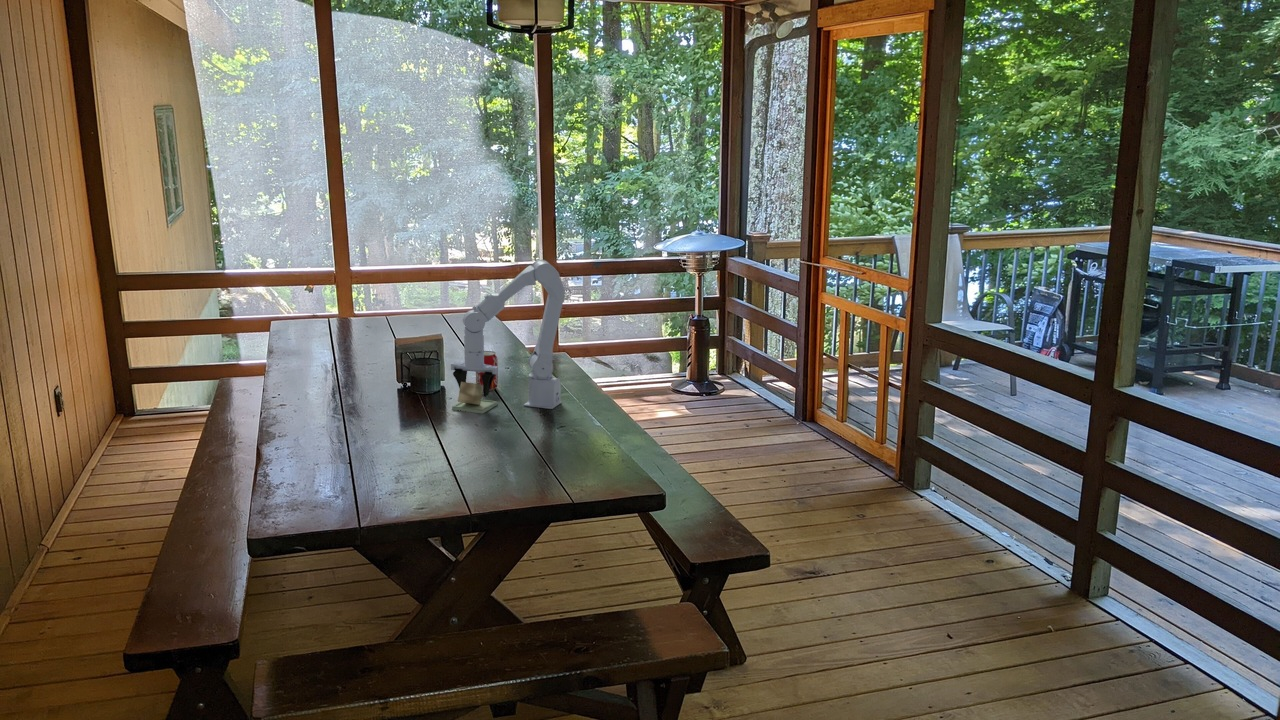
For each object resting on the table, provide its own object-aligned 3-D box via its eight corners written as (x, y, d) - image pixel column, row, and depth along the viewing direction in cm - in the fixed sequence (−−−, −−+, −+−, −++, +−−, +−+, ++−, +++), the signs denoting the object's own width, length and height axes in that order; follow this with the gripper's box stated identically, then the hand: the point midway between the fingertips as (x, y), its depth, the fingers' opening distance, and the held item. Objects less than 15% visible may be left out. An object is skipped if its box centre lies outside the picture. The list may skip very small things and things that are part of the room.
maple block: (480, 405, 280) (483, 385, 281) (472, 403, 276) (475, 383, 276) (465, 403, 282) (468, 383, 283) (457, 401, 277) (461, 381, 278)
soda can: (493, 392, 298) (493, 356, 295) (472, 390, 299) (472, 354, 296) (501, 386, 304) (500, 351, 301) (480, 385, 306) (480, 349, 303)
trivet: (497, 404, 284) (497, 401, 284) (482, 413, 275) (482, 410, 274) (467, 401, 287) (467, 397, 287) (452, 409, 277) (452, 406, 277)
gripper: (502, 350, 279) (502, 393, 282) (457, 346, 282) (458, 389, 285) (492, 355, 272) (492, 399, 275) (447, 350, 276) (448, 394, 279)
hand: (474, 394), depth 280 cm, fingers open, 7 cm apart
